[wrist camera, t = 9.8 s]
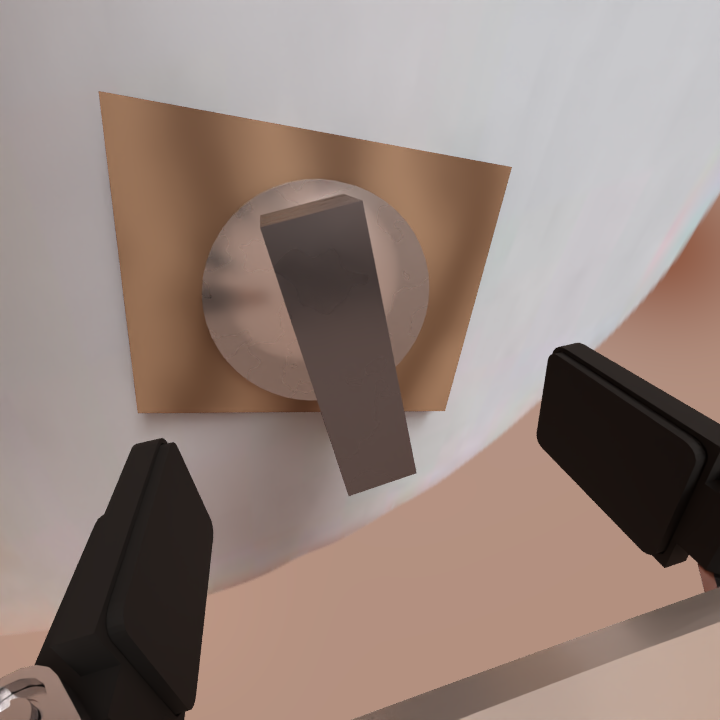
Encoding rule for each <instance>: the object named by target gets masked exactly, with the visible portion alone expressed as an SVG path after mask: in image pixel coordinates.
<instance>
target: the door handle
mask: <svg viewBox="0 0 720 720" xmlns="http://www.w3.org/2000/svg"><path fill="white" fill-rule="evenodd" d="M428 301H429V275H428V269H427V264H426V259H425V256H424V254H423V251H422V248H421V245H420V243H419V241H418V239H417V237H416V235H415V233H414V232H413V230H412V229H411V228H410V226H409V225H408V223H407V222H406V221H405V219H404V218H403V217H402V216H401V215H400V214H399V213H398V212H397V211H396V210H395V209H394V208H393V207H392V206H390V205H389V204H388V203H387V202H385V201H384V200H383V199H381V198H379V197H378V196H376V195H374V194H373V193H371V192H369V191H367V190H364V189H362V188H360V187H357V186H355V185H351V184H347V183H343V182H339V181H335V180H326V179H301V180H295V181H290V182H285V183H282V184H279V185H276V186H273V187H271V188H269V189H267V190H265V191H263V192H261V193H259V194H257V195H256V196H254V197H253V198H252V199H250V200H249V201H247V202H246V203H244V204H243V205H242V206H241V207H240V208H239V209H238V210H237V211H236V212H235V213H234V214H233V215H232V216H231V218H230V219H229V220H228V221H227V223H226V224H225V225H224V227H223V228H222V230H221V231H220V233H219V235H218V237H217V238H216V240H215V242H214V244H213V246H212V248H211V251H210V253H209V256H208V258H207V261H206V265H205V270H204V274H203V283H202V302H203V311H204V315H205V320H206V324H207V326H208V329H209V332H210V334H211V337H212V339H213V341H214V342H215V344H216V346H217V348H218V350H219V351H220V352H221V354H222V355H223V357H224V358H225V359H226V361H227V362H228V363H229V364H230V365H231V366H232V367H233V368H234V369H235V370H236V371H237V372H238V373H239V374H241V375H242V376H243V377H244V378H246V379H247V380H248V381H250V382H252V383H253V384H255V385H256V386H258V387H260V388H262V389H264V390H266V391H269V392H271V393H274V394H277V395H280V396H283V397H288V398H292V399H299V400H317V401H318V404H319V407H320V411H321V414H322V417H323V420H324V423H325V426H326V429H327V432H328V435H329V438H330V441H331V444H332V447H333V450H334V453H335V456H336V459H337V462H338V465H339V468H340V471H341V474H342V477H343V480H344V483H345V486H346V489H347V492H348V495H349V496H351V495H353V494H356V493H359V492H362V491H365V490H368V489H371V488H374V487H377V486H380V485H383V484H386V483H389V482H392V481H395V480H398V479H401V478H403V477H406V476H409V475H412V474H415V473H416V468H415V463H414V458H413V453H412V448H411V443H410V438H409V433H408V428H407V423H406V418H405V413H404V407H403V402H402V397H401V392H400V387H399V382H398V377H397V372H396V366H397V365H398V364H399V363H400V362H401V360H402V359H403V358H404V357H405V355H406V354H407V353H408V352H409V350H410V349H411V347H412V345H413V344H414V342H415V340H416V339H417V337H418V334H419V332H420V330H421V328H422V325H423V322H424V319H425V316H426V311H427V306H428Z"/></svg>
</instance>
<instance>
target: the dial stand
mask: <svg viewBox="0 0 720 720" xmlns="http://www.w3.org/2000/svg"><path fill="white" fill-rule="evenodd" d="M99 98H100V106H101V114H102V123H103V131H104V139H105V147H106V155H107V164H108V172H109V180H110V188H111V196H112V205H113V213H114V221H115V229H116V238H117V246H118V254H119V262H120V270H121V279H122V287H123V295H124V303H125V311H126V320H127V328H128V336H129V344H130V352H131V361H132V369H133V377H134V385H135V394H136V402H137V410H138V413H217V412H321V411H320V407H319V404H318V401H317V400H299V399H292V398H288V397H283V396H280V395H277V394H274V393H271V392H269V391H266V390H264V389H262V388H260V387H258V386H256V385H255V384H253V383H252V382H250V381H248V380H247V379H246V378H244V377H243V376H242V375H241V374H239V373H238V372H237V371H236V370H235V369H234V368H233V367H232V366H231V365H230V364H229V363H228V362H227V361H226V359H225V358H224V357H223V355H222V354H221V352H220V351H219V350H218V348H217V346H216V344H215V342H214V341H213V339H212V337H211V334H210V332H209V329H208V326H207V324H206V320H205V315H204V311H203V302H202V283H203V274H204V270H205V265H206V261H207V258H208V256H209V253H210V251H211V248H212V246H213V244H214V242H215V240H216V238H217V237H218V235H219V233H220V231H221V230H222V228H223V227H224V225H225V224H226V223H227V221H228V220H229V219H230V218H231V216H232V215H233V214H234V213H235V212H236V211H237V210H238V209H239V208H240V207H241V206H242V205H243V204H244V203H246V202H247V201H249V200H250V199H252V198H253V197H254V196H256V195H257V194H259V193H261V192H263V191H265V190H267V189H269V188H271V187H273V186H276V185H279V184H282V183H285V182H290V181H295V180H301V179H326V180H335V181H339V182H343V183H347V184H351V185H355V186H357V187H360V188H362V189H364V190H367V191H369V192H371V193H373V194H374V195H376V196H378V197H379V198H381V199H383V200H384V201H385V202H387V203H388V204H389V205H390V206H392V207H393V208H394V209H395V210H396V211H397V212H398V213H399V214H400V215H401V216H402V217H403V218H404V219H405V221H406V222H407V223H408V225H409V226H410V228H411V229H412V230H413V232H414V233H415V235H416V237H417V239H418V241H419V243H420V245H421V248H422V251H423V254H424V256H425V259H426V264H427V269H428V275H429V301H428V306H427V311H426V316H425V319H424V322H423V325H422V328H421V330H420V332H419V334H418V337H417V339H416V340H415V342H414V344H413V345H412V347H411V349H410V350H409V352H408V353H407V354H406V355H405V357H404V358H403V359H402V360H401V362H400V363H399V364H398V365H397V366H396V372H397V377H398V382H399V387H400V392H401V397H402V402H403V407H404V411H445V408H446V405H447V401H448V397H449V394H450V390H451V387H452V383H453V379H454V376H455V372H456V368H457V365H458V361H459V357H460V354H461V350H462V347H463V343H464V339H465V336H466V332H467V328H468V325H469V321H470V317H471V314H472V310H473V306H474V303H475V299H476V296H477V292H478V288H479V285H480V281H481V277H482V274H483V270H484V266H485V263H486V259H487V256H488V252H489V248H490V245H491V241H492V237H493V234H494V230H495V226H496V223H497V219H498V216H499V212H500V208H501V205H502V201H503V197H504V194H505V190H506V186H507V183H508V179H509V175H510V172H511V168H512V167H508V166H503V165H497V164H492V163H486V162H481V161H475V160H470V159H464V158H459V157H454V156H448V155H443V154H437V153H432V152H426V151H421V150H416V149H410V148H405V147H399V146H394V145H388V144H383V143H378V142H372V141H367V140H361V139H356V138H350V137H345V136H339V135H334V134H329V133H323V132H318V131H312V130H307V129H301V128H296V127H291V126H285V125H280V124H274V123H269V122H263V121H258V120H252V119H247V118H242V117H236V116H231V115H225V114H220V113H214V112H209V111H204V110H198V109H193V108H187V107H182V106H176V105H171V104H166V103H160V102H155V101H149V100H144V99H138V98H133V97H127V96H122V95H117V94H111V93H106V92H100V91H99Z"/></svg>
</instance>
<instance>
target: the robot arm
mask: <svg viewBox="0 0 720 720" xmlns="http://www.w3.org/2000/svg"><path fill="white" fill-rule="evenodd" d="M537 439H538V442H539V444H540V446H541V447H542V448H543V449H544V450H545V451H546V452H547V453H548V454H549V455H550V457H552V459H553V460H554V461H555V462H556V463H557V464H558V465H559V466H560V467H561V468H562V469H563V470H564V471H565V472H566V473H567V474H568V475H569V476H570V477H571V478H572V479H573V480H574V481H575V482H576V483H577V484H578V485H579V486H580V487H581V488H582V489H583V490H584V492H585V493H586V494H587V495H588V496H589V497H590V498H591V499H592V500H593V501H594V502H595V503H596V504H597V505H598V506H599V507H600V508H601V509H602V510H603V511H604V512H605V513H606V514H607V515H608V516H609V517H610V518H611V519H612V520H613V521H614V522H615V524H617V525H618V527H619V528H621V530H622V531H623V532H624V533H625V534H626V535H627V536H628V537H629V538H630V539H631V540H632V541H633V542H634V543H635V544H636V545H637V546H638V547H639V548H640V549H641V550H642V551H643V552H645V553H646V554H650V555H652V556H653V557H654V558H655V559H656V560H657V561H658V562H659V563H660V564H661V565H662V566H663V567H664V568H666V567H669V566H672V565H675V564H678V563H681V562H683V561H686V559H687V557H688V555H690V556H691V557H692V558H693V559H694V560H696V561H697V562H698V567H699V571H700V575H701V579H702V584H703V587H704V592H705V593H702V594H699V595H696V596H694V597H691V598H688V599H685V600H682V601H679V602H676V603H674V604H671V605H668V606H665V607H662V608H659V609H657V610H654V611H651V612H648V613H645V614H642V615H640V616H637V617H634V618H631V619H628V620H626V621H623V622H620V623H617V624H614V625H612V626H609V627H606V628H603V629H600V630H598V631H595V632H592V633H589V634H587V635H584V636H581V637H578V638H576V639H573V640H570V641H567V642H564V643H562V644H559V645H556V646H553V647H551V648H548V649H545V650H542V651H539V652H537V653H534V654H531V655H528V656H526V657H523V658H520V659H517V660H514V661H512V662H509V663H506V664H503V665H500V666H498V667H495V668H492V669H489V670H487V671H484V672H481V673H478V674H476V675H473V676H470V677H467V678H464V679H462V680H459V681H456V682H453V683H451V684H448V685H445V686H443V687H440V688H437V689H434V690H432V691H429V692H426V693H424V694H421V695H418V696H416V697H413V698H410V699H407V700H404V701H402V702H399V703H396V704H393V705H391V706H388V707H385V708H383V709H380V710H377V711H375V712H372V713H369V714H366V715H364V716H361V717H358V718H355V719H353V720H720V424H719V423H717V422H715V421H713V420H712V419H710V418H708V417H707V416H705V415H703V414H702V413H700V412H698V411H696V410H695V409H693V408H691V407H690V406H688V405H686V404H684V403H683V402H681V401H679V400H678V399H676V398H674V397H672V396H671V395H669V394H667V393H666V392H664V391H662V390H661V389H659V388H657V387H655V386H654V385H652V384H650V383H649V382H647V381H645V380H644V379H642V378H640V377H638V376H637V375H635V374H633V373H632V372H630V371H628V370H626V369H625V368H623V367H621V366H620V365H618V364H616V363H615V362H613V361H611V360H609V359H608V358H606V357H604V356H602V355H601V354H599V353H597V352H596V351H594V350H592V349H591V348H589V347H587V346H586V345H584V344H581V343H574V344H570V345H566V346H561V347H558V348H556V349H555V350H554V351H553V353H552V355H550V356H549V358H548V363H547V369H546V376H545V382H544V389H543V395H542V402H541V409H540V415H539V421H538V428H537ZM212 543H213V526H212V522H211V519H210V517H209V515H208V512H207V510H206V508H205V506H204V504H203V501H202V499H201V497H200V495H199V493H198V491H197V488H196V486H195V484H194V482H193V480H192V478H191V475H190V473H189V471H188V469H187V467H186V464H185V462H184V460H183V458H182V456H181V454H180V451H179V449H178V447H177V445H176V444H175V443H173V442H172V443H167V441H166V440H165V439H163V438H160V439H156V440H151V441H147V442H143V443H138V444H135V445H134V446H133V447H132V449H131V451H130V454H129V456H128V459H127V461H126V463H125V466H124V468H123V471H122V473H121V475H120V478H119V480H118V483H117V485H116V487H115V490H114V492H113V495H112V497H111V499H110V502H109V504H108V507H107V509H106V512H105V514H104V515H102V516H101V517H100V518H99V519H98V520H97V522H96V524H95V525H94V528H93V530H92V532H91V535H90V537H89V539H88V542H87V544H86V546H85V549H84V551H83V553H82V556H81V558H80V560H79V563H78V565H77V567H76V570H75V572H74V574H73V577H72V579H71V581H70V584H69V586H68V588H67V591H66V593H65V595H64V598H63V600H62V602H61V605H60V607H59V609H58V612H57V614H56V616H55V619H54V621H53V623H52V626H51V628H50V630H49V633H48V635H47V637H46V639H45V642H44V644H43V647H42V649H41V651H40V654H39V656H38V658H37V660H36V663H35V665H34V666H29V667H25V668H20V669H18V670H16V671H14V672H12V673H10V674H8V675H6V676H4V677H2V678H0V720H184V717H185V711H188V710H191V709H192V708H193V706H194V703H195V698H196V689H197V681H198V672H199V662H200V654H201V644H202V635H203V626H204V616H205V607H206V598H207V589H208V580H209V571H210V561H211V552H212Z"/></svg>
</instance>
